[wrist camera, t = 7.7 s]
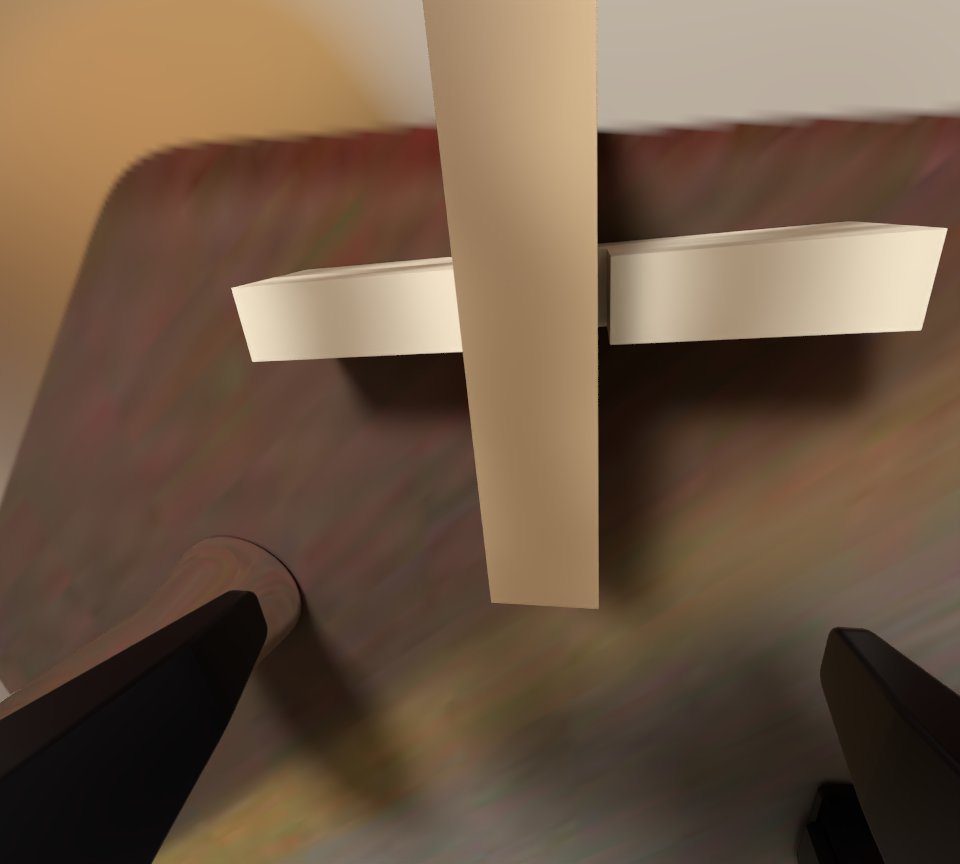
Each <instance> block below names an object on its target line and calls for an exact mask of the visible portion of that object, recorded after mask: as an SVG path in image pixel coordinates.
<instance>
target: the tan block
mask: <svg viewBox="0 0 960 864" xmlns="http://www.w3.org/2000/svg"><path fill="white" fill-rule="evenodd" d="M423 8H424V17H425V26H426V34H427V43H428V52H429V60H430V70H431V77H432V87H433V95H434V105H435V112H436V122H437V131H438V140H439V148H440V157H441V166H442V175H443V183H444V192H445V201H446V210H447V218H448V227H449V236H450V245H451V254H452V262H453V271H454V280H455V289H456V297H457V306H458V315H459V324H460V332H461V341H462V350H463V359H464V367H465V376H466V385H467V394H468V402H469V411H470V420H471V429H472V437H473V446H474V455H475V464H476V472H477V481H478V490H479V499H480V507H481V516H482V525H483V534H484V543H485V551H486V560H487V569H488V578H489V586H490V595H491V603H508V604H524V605H541V606H557V607H574V608H590V609H599V543H598V255H597V0H423Z"/></svg>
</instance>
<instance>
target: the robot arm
mask: <svg viewBox="0 0 960 864" xmlns="http://www.w3.org/2000/svg"><path fill="white" fill-rule="evenodd" d="M267 633H268V626H267V623H266V620H265V617H264V614H263V611H262V609H261V606H260V603H259V600H258V597H257V595H256V594H255V593H254V592H252V591H245V590H230V591H228V592H226V593H224V594H222V595H220V596H219V597H217V598H215V599H213V600H211V601H210V602H208V603H206V604H204V605H203V606H201V607H199V608H197V609H196V610H194V611H192V612H190V613H188V614H187V615H185V616H183V617H181V618H180V619H178V620H176V621H174V622H173V623H171V624H169V625H167V626H165V627H164V628H162V629H160V630H158V631H157V632H155V633H153V634H151V635H149V636H148V637H146V638H144V639H142V640H141V641H139V642H137V643H135V644H134V645H132V646H130V647H128V648H126V649H125V650H123V651H121V652H119V653H118V654H116V655H114V656H112V657H111V658H109V659H107V660H105V661H103V662H102V663H100V664H98V665H96V666H95V667H93V668H91V669H89V670H87V671H86V672H84V673H82V674H80V675H79V676H77V677H75V678H73V679H72V680H70V681H68V682H66V683H64V684H63V685H61V686H59V687H57V688H56V689H54V690H52V691H50V692H49V693H47V694H45V695H43V696H41V697H40V698H38V699H36V700H34V701H33V702H31V703H29V704H27V705H26V706H24V707H22V708H20V709H18V710H17V711H15V712H13V713H11V714H10V715H8V716H6V717H4V718H2V719H1V720H0V864H152V862H153V860H154V858H155V857H156V855H157V853H158V851H159V849H160V848H161V846H162V844H163V842H164V840H165V839H166V837H167V835H168V833H169V831H170V830H171V828H172V826H173V824H174V822H175V821H176V819H177V817H178V815H179V813H180V811H181V810H182V808H183V806H184V804H185V802H186V801H187V799H188V797H189V795H190V793H191V792H192V790H193V788H194V786H195V784H196V783H197V781H198V779H199V777H200V775H201V774H202V772H203V770H204V768H205V766H206V764H207V763H208V761H209V759H210V757H211V755H212V754H213V752H214V750H215V748H216V746H217V745H218V743H219V741H220V739H221V737H222V735H223V733H224V731H225V730H226V728H227V726H228V723H229V721H230V719H231V717H232V715H233V713H234V711H235V709H236V706H237V704H238V702H239V700H240V697H241V695H242V693H243V691H244V688H245V686H246V684H247V682H248V679H249V677H250V675H251V673H252V670H253V668H254V666H255V664H256V661H257V659H258V657H259V655H260V652H261V650H262V648H263V646H264V643H265V641H266V638H267ZM820 678H821V684H822V688H823V691H824V694H825V698H826V701H827V704H828V707H829V710H830V713H831V716H832V719H833V722H834V725H835V729H836V732H837V735H838V738H839V741H840V744H841V747H842V750H843V753H844V757H845V760H846V763H847V766H848V769H849V772H850V775H851V778H852V781H853V784H854V787H852V786H843V785H835V784H826V785H823V786H821V787H820V788H819V789H818V792H817V795H816V799H815V802H814V806H813V810H812V813H811V817H810V821H809V822H808V823H807V824H806V826H805V829H804V832H803V836H802V840H801V843H800V847H799V851H798V854H797V857H798V864H960V696H959V695H958V694H957V693H955V692H954V691H952V690H951V689H950V688H948V687H947V686H946V685H944V684H943V683H941V682H940V681H939V680H937V679H936V678H935V677H933V676H932V675H930V674H929V673H928V672H926V671H925V670H924V669H922V668H921V667H920V666H918V665H917V664H915V663H914V662H913V661H911V660H910V659H909V658H907V657H906V656H904V655H903V654H902V653H900V652H899V651H898V650H896V649H895V648H894V647H892V646H891V645H889V644H888V643H887V642H885V641H884V640H883V639H881V638H880V637H878V636H877V635H876V634H874V633H873V632H871V631H869V630H867V629H863V628H848V627H836V628H833V629H832V630H831V631H830V633H829V636H828V640H827V644H826V648H825V652H824V656H823V660H822V664H821V669H820Z"/></svg>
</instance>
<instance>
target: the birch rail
mask: <svg viewBox="0 0 960 864" xmlns="http://www.w3.org/2000/svg"><path fill="white" fill-rule="evenodd" d="M946 232H947V228H936V227H922V226H908V225H894V224H880V223H866V222H852V221H848V222H837V223H826V224H815V225H804V226H792V227H781V228H770V229H759V230H747V231H736V232H725V233H714V234H703V235H691V236H680V237H669V238H658V239H646V240H635V241H624V242H613V243H601V244H597V255H598V327H603V326H607V330H608V335H609V341H610V345H619V344H641V343H662V342H683V341H704V340H725V339H747V338H768V337H789V336H810V335H832V334H853V333H874V332H895V331H917V330H921V329H922V325H923V322H924V318H925V314H926V310H927V306H928V302H929V298H930V294H931V290H932V287H933V283H934V279H935V275H936V271H937V267H938V263H939V259H940V255H941V252H942V248H943V244H944V240H945V236H946ZM231 289H232V292H233V296H234V299H235V303H236V306H237V310H238V313H239V317H240V320H241V323H242V327H243V330H244V334H245V337H246V341H247V344H248V348H249V351H250V355H251V358H252V362H258V361H280V360H301V359H322V358H343V357H365V356H386V355H407V354H428V353H449V352H463V350H462V341H461V332H460V324H459V315H458V306H457V297H456V289H455V280H454V271H453V262H452V257H444V258H433V259H422V260H411V261H399V262H388V263H377V264H366V265H355V266H343V267H332V268H321V269H310V270H304V271H300V272H296V273H291V274H287V275H283V276H279V277H275V278H271V279H267V280H263V281H258V282H254V283H250V284H246V285H242V286H238V287H234V288H231Z"/></svg>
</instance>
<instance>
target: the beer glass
mask: <svg viewBox="0 0 960 864" xmlns="http://www.w3.org/2000/svg"><path fill="white" fill-rule="evenodd" d="M230 590H245V591H252V592H254V593H255V594H256V595H257V597H258V600H259V603H260V606H261V609H262V611H263V614H264V617H265V620H266V623H267V626H268V633H267V638H266V641H265V643H264V646H263V648H262V650H261V652H260V655H259V657H258V659H257V661H256V664H255V666H254V668H253V670H252V672H253V671H254V669H255V668H256V667H257V666H258V665H259V663H260V662H261V661H262V660H263V659H264V658H265V657H266V656H267V655H268V654H269V653H270V652H271V651H272V650H273V649H274V648H275V647H276V646H277V645H278V644H279V643H280V642H281V641H282V640H283V639H284V638H285V637H286V636H287V635H288V634H289V633H290V632H291V631H292V629H293V628H294V627H295V625H296V624H297V622H298V620H299V617H300V614H301V609H302V602H301V596H300V592H299V589H298V587H297V584H296V582H295V581H294V579H293V577H292V576H291V574H290V573H289V571H288V570H287V569H286V568H285V567H284V565H283V564H282V563H281V562H280V561H278V560H277V559H276V558H275V557H274V556H273V555H271V554H270V553H269V552H267V551H266V550H264V549H262V548H261V547H259V546H257V545H255V544H253V543H250V542H248V541H245V540H242V539H238V538H233V537H224V536H218V537H210V538H207V539H204V540H201V541H199V542H198V543H196V544H194V545H193V546H192V547H191V548H190V549H189V550H188V551H187V552H186V553H185V554H184V555H183V556H182V557H181V559H180V560H179V561H178V563H177V564H176V565H175V566H174V568H173V569H172V570H171V572H170V573H169V574H168V576H167V577H166V578H165V580H164V581H163V582H162V583H161V584H160V586H159V587H158V588H157V589H156V590H155V591H154V593H153V594H152V595H151V596H149V597H148V598H147V599H146V600H145V601H144V602H143V603H142V604H141V605H140V606H139V607H138V608H137V609H135V610H134V611H133V612H132V613H130V614H129V615H128V616H127V617H125V618H124V619H123V620H122V621H120V622H119V623H117V624H116V625H115V626H113V627H112V628H110V629H109V630H107V631H106V632H104V633H103V634H101V635H100V636H99V637H97V638H96V639H94V640H93V641H91V642H90V643H88V644H87V645H85V646H84V647H82V648H80V649H79V650H77V651H76V652H74V653H73V654H71V655H70V656H68V657H67V658H65V659H64V660H62V661H61V662H59V663H57V664H56V665H54V666H53V667H51V668H50V669H48V670H47V671H45V672H44V673H42V674H41V675H39V676H38V677H36V678H35V679H33V680H32V681H30V682H29V683H27V684H26V685H24V686H23V687H21V688H20V689H18V690H17V691H15V692H14V693H12V694H11V695H10V696H8V697H7V698H6V699H4V700H3V701H1V702H0V720H1V719H2V718H4V717H6V716H8V715H10V714H11V713H13V712H15V711H17V710H18V709H20V708H22V707H24V706H26V705H27V704H29V703H31V702H33V701H34V700H36V699H38V698H40V697H41V696H43V695H45V694H47V693H49V692H50V691H52V690H54V689H56V688H57V687H59V686H61V685H63V684H64V683H66V682H68V681H70V680H72V679H73V678H75V677H77V676H79V675H80V674H82V673H84V672H86V671H87V670H89V669H91V668H93V667H95V666H96V665H98V664H100V663H102V662H103V661H105V660H107V659H109V658H111V657H112V656H114V655H116V654H118V653H119V652H121V651H123V650H125V649H126V648H128V647H130V646H132V645H134V644H135V643H137V642H139V641H141V640H142V639H144V638H146V637H148V636H149V635H151V634H153V633H155V632H157V631H158V630H160V629H162V628H164V627H165V626H167V625H169V624H171V623H173V622H174V621H176V620H178V619H180V618H181V617H183V616H185V615H187V614H188V613H190V612H192V611H194V610H196V609H197V608H199V607H201V606H203V605H204V604H206V603H208V602H210V601H211V600H213V599H215V598H217V597H219V596H220V595H222V594H224V593H226V592H228V591H230Z"/></svg>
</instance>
